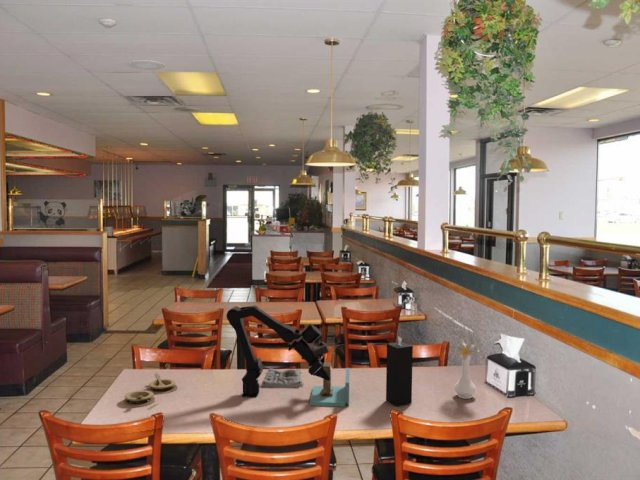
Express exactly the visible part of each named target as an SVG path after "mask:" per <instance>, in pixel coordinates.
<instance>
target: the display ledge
mask: <svg viewBox="0 0 640 480" xmlns="http://www.w3.org/2000/svg"><path fill="white" fill-rule="evenodd" d="M344 382H345V384H344V385H345V386H341V385H340V386H337V385H335V386H334V385H333V386H332V385H331V389H333V396H321V389H323V385H313V387H312V392H311V397H310V401H309V402H310V403H309V406H315V405H320V406H321V407H322V406H323V407H347V408H348V407H349V406H350V367H346V368H345V381H344Z"/></svg>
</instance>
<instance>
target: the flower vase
mask: <svg viewBox="0 0 640 480" xmlns="http://www.w3.org/2000/svg"><path fill="white" fill-rule="evenodd" d="M449 350H451V351H450V353H449V354H450V356H451V359H453V358H454V357H455V356H461V361H462V362H461V363H462V364H461V375H460V378H459V380H458V381H457V382H456V383H455V384H454V386H453V387H454V388H453V391H454V392H455V393H456V394H457V397H458V398H461V399H465V400H469V399H471V398H473V396H474V395H475V394H476V392H477V388H476V385H475V384H474V383H473V381H472V379H471V376H470V361H471V357H472V356H473V355H474V354H476V355H477V356H478V357H479V358H483V357H482V354H481V353H480V352H481V351H480V347H479V345H478V344H477V341H474V344H472V341H471V340H470V339H468V340H467V341H466V343H465V340H464V339H463V338H460V339H459V340H458V339H456V338H455V340H454V342H453V343H452V345H451V346H450V347H449Z"/></svg>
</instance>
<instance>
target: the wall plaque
mask: <svg viewBox="0 0 640 480" xmlns="http://www.w3.org/2000/svg"><path fill="white" fill-rule="evenodd" d="M301 375H302V371H301V369H300V368H296V369H295V368H294V369H293V368H292V369H291V368H290V369H285V370H282V371H281V370H278V369H274V368H268V369H267V373H266V375H265V377H264V379H263V380H262V381H261V387H263V388H274V387H277V388H279V389H280V388H282V389H283V388H285V389H286V388H287V389H291V388H292V389H294V388H295V387H296V388H295V389H300V388H299V387H301V388H303V387H304V383H303V381H302V380H301Z"/></svg>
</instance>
